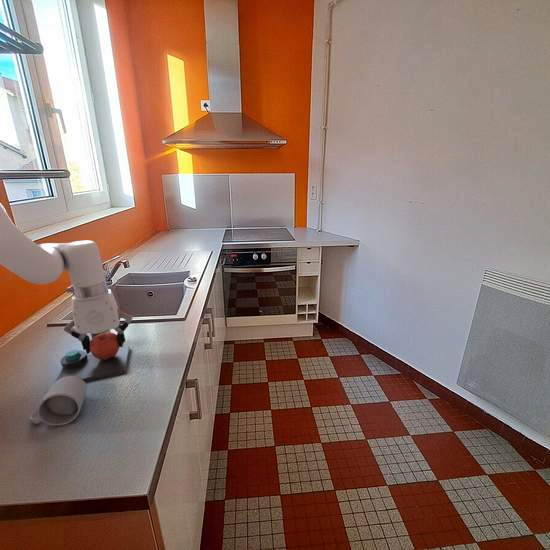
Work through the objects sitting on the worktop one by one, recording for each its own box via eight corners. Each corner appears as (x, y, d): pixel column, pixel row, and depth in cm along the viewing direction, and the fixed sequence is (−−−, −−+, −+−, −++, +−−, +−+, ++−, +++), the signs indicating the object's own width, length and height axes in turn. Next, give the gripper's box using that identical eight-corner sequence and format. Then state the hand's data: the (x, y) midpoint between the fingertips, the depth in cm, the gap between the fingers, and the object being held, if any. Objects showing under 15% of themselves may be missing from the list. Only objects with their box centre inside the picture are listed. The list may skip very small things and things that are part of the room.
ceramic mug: (91, 394, 72) (83, 368, 70) (83, 420, 65) (74, 391, 63) (40, 407, 69) (29, 380, 67) (25, 435, 62) (13, 405, 59)
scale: (53, 390, 75) (49, 380, 74) (67, 362, 85) (64, 353, 84) (125, 374, 80) (123, 364, 79) (130, 350, 90) (128, 341, 89)
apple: (110, 348, 89) (104, 324, 87) (128, 353, 86) (122, 328, 84) (87, 362, 83) (80, 336, 80) (106, 367, 80) (99, 341, 77)
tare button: (65, 362, 81) (64, 357, 80) (69, 356, 84) (67, 351, 83) (78, 360, 82) (77, 354, 81) (81, 354, 84) (79, 348, 84)
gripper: (46, 300, 72) (65, 362, 78) (126, 289, 77) (138, 348, 83) (56, 288, 78) (73, 347, 84) (129, 279, 84) (140, 335, 90)
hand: (105, 347), depth 84 cm, fingers closed on apple, 7 cm apart
